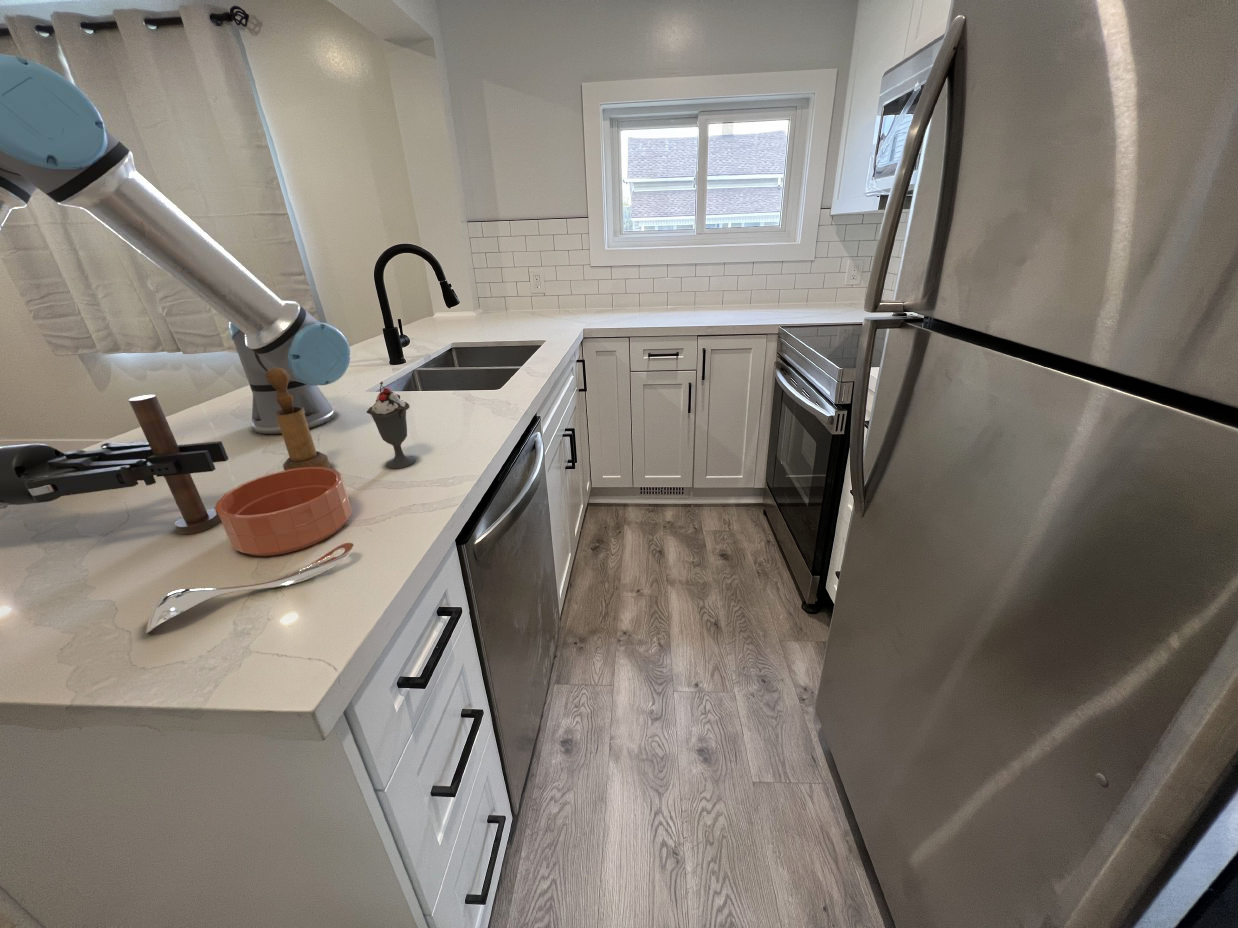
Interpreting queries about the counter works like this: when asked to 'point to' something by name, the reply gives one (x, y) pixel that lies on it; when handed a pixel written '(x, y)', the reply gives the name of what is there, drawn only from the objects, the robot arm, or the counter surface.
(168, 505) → the counter surface
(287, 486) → the bowl
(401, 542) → the counter surface
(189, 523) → the stick
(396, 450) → the sundae
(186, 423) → the counter surface
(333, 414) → the robot arm
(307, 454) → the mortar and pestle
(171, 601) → the metal spatula
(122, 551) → the counter surface
